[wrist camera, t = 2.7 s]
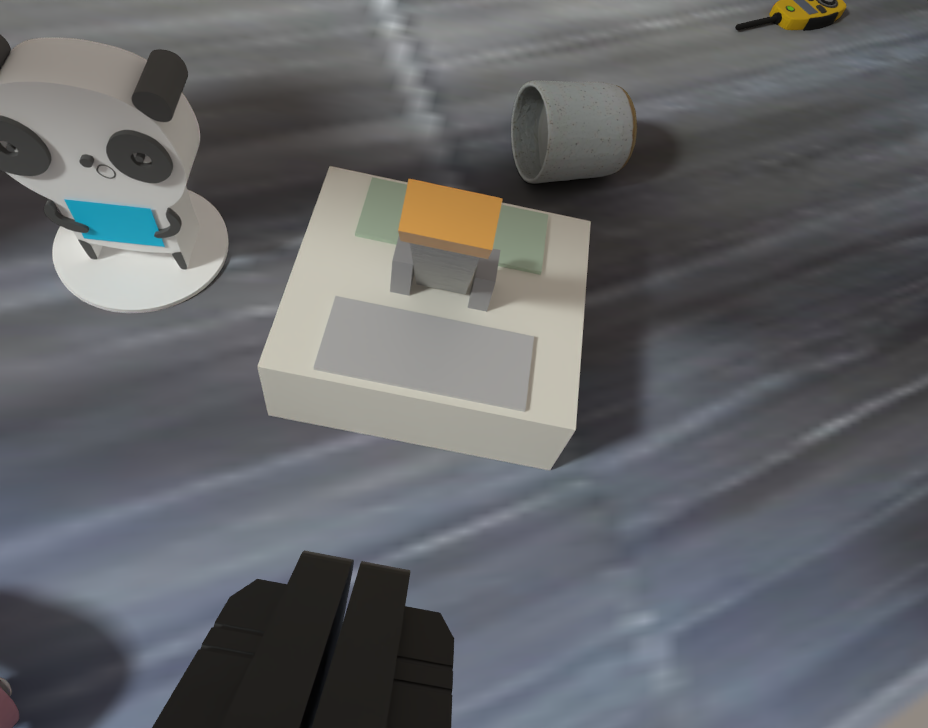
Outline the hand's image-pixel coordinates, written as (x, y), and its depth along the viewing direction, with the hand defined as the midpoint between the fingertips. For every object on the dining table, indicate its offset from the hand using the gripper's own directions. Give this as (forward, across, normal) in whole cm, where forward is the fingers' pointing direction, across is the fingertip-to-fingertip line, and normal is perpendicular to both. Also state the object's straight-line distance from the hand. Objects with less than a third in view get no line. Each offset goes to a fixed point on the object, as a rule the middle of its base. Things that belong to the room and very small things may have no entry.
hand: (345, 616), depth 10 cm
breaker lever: (+33, 0, -1) cm, 33 cm away
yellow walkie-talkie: (+74, -30, -31) cm, 85 cm away
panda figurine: (+40, +21, +2) cm, 46 cm away
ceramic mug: (+53, -7, -11) cm, 55 cm away
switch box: (+38, 0, +4) cm, 38 cm away
